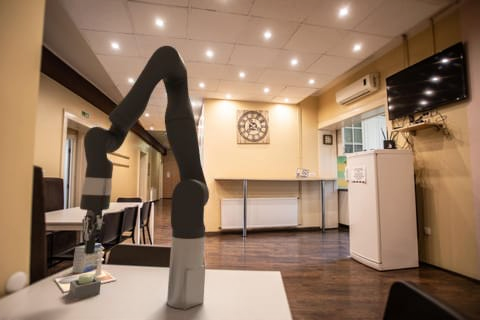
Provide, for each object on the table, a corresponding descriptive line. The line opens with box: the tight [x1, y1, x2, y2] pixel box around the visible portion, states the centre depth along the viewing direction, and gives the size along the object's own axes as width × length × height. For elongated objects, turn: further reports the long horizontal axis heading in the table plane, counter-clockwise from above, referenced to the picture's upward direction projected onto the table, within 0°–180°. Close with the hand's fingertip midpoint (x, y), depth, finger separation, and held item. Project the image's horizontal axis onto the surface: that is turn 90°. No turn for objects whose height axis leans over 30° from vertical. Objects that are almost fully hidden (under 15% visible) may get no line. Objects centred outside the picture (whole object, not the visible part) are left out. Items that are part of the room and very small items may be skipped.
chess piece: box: [94, 245, 107, 280], centre depth 77 cm, size 5×5×10 cm
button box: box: [68, 276, 102, 301], centre depth 66 cm, size 6×6×3 cm
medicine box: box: [72, 242, 103, 274], centre depth 86 cm, size 8×4×9 cm, turn 171°
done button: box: [78, 274, 94, 285], centre depth 66 cm, size 4×4×2 cm
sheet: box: [54, 269, 117, 294], centre depth 75 cm, size 13×14×1 cm
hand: (88, 253), depth 67 cm, fingers closed
